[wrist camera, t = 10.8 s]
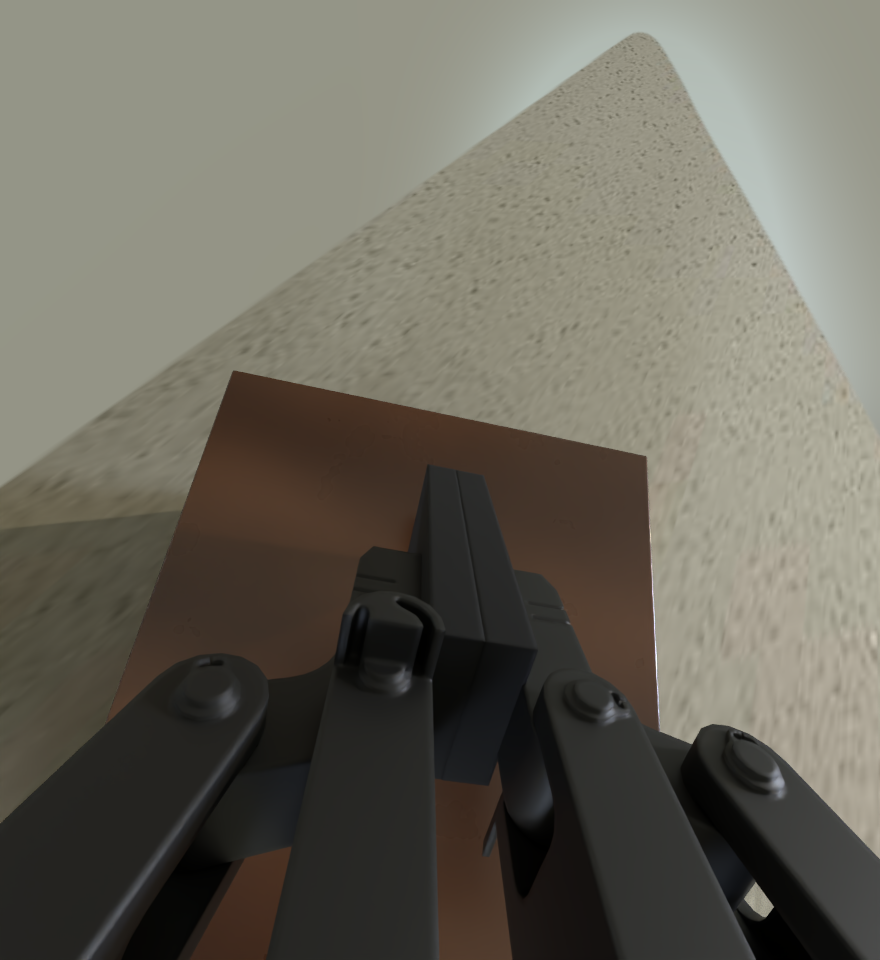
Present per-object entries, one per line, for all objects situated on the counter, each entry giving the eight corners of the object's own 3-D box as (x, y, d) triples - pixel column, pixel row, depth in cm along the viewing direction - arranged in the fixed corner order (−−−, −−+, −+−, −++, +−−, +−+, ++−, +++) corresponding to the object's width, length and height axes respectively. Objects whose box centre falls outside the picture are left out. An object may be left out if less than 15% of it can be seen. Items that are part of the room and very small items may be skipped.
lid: (237, 384, 16) (232, 369, 15) (635, 465, 17) (647, 455, 17) (-23, 1119, 9) (-54, 1157, 8) (659, 1144, 11) (683, 1177, 10)
